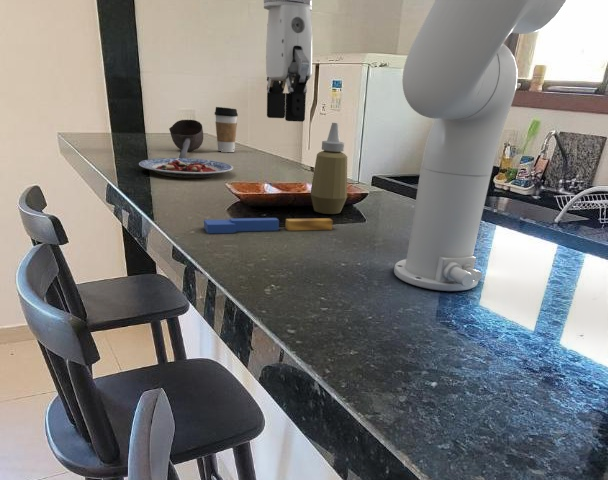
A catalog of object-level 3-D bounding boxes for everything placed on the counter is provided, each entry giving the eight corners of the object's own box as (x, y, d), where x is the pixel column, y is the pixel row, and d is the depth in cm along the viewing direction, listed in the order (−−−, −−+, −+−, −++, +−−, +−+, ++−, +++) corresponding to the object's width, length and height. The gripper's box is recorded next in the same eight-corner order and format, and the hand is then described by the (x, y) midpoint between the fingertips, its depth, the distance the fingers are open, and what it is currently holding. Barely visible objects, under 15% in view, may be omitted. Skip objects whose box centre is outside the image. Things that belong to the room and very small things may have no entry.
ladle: (205, 142, 198) (201, 114, 191) (205, 189, 170) (201, 158, 163) (173, 144, 196) (168, 116, 189) (168, 191, 169) (162, 160, 162)
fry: (328, 227, 104) (329, 218, 104) (332, 229, 103) (332, 220, 102) (285, 228, 102) (285, 218, 101) (288, 230, 100) (288, 221, 99)
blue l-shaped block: (274, 227, 102) (274, 216, 101) (280, 231, 99) (280, 221, 98) (204, 228, 97) (203, 217, 96) (207, 233, 94) (207, 222, 93)
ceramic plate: (217, 184, 137) (217, 172, 135) (122, 175, 140) (121, 163, 138) (243, 170, 159) (243, 160, 158) (161, 163, 162) (160, 152, 161)
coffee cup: (210, 151, 194) (210, 106, 187) (220, 149, 202) (220, 106, 195) (231, 154, 192) (232, 108, 186) (241, 151, 200) (241, 108, 193)
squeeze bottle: (342, 217, 113) (352, 125, 104) (305, 213, 114) (311, 122, 106) (347, 210, 120) (356, 123, 111) (312, 206, 121) (319, 120, 113)
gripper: (332, -7, 76) (325, 123, 84) (291, 7, 90) (288, 117, 98) (283, -13, 74) (280, 122, 81) (249, 2, 88) (249, 116, 96)
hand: (285, 119), depth 90 cm, fingers open, 9 cm apart
